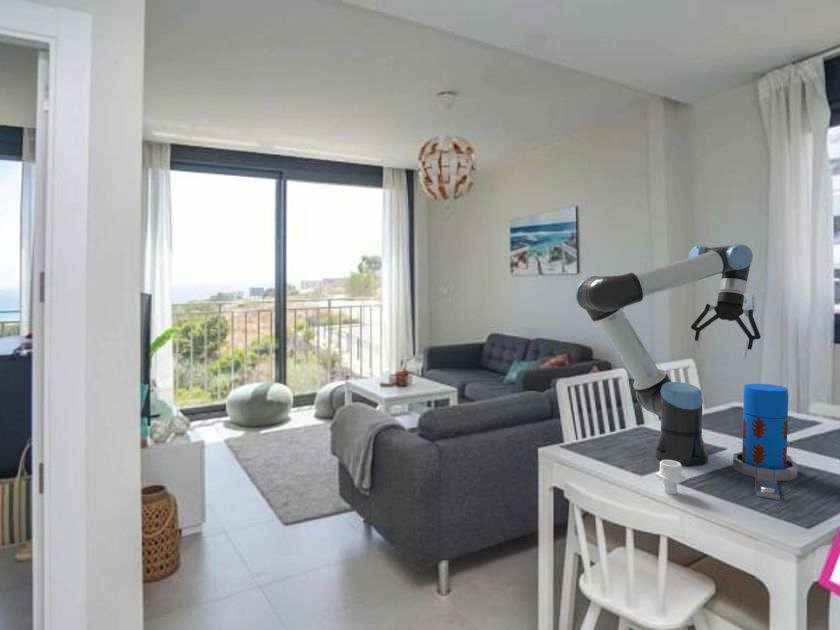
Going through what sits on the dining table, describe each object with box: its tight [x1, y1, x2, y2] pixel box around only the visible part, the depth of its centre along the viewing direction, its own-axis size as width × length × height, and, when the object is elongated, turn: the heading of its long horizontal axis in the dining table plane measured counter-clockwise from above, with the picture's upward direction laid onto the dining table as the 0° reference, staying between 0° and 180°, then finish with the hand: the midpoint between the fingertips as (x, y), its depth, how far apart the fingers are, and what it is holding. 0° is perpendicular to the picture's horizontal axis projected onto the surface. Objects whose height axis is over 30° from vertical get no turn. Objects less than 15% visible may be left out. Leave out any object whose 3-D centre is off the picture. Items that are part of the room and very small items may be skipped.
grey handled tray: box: [732, 451, 798, 501], centre depth 148 cm, size 16×41×3 cm, turn 148°
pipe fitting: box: [655, 460, 686, 495], centre depth 135 cm, size 6×7×8 cm
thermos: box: [741, 383, 789, 469], centre depth 149 cm, size 11×11×25 cm
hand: (720, 354), depth 170 cm, fingers open, 13 cm apart
